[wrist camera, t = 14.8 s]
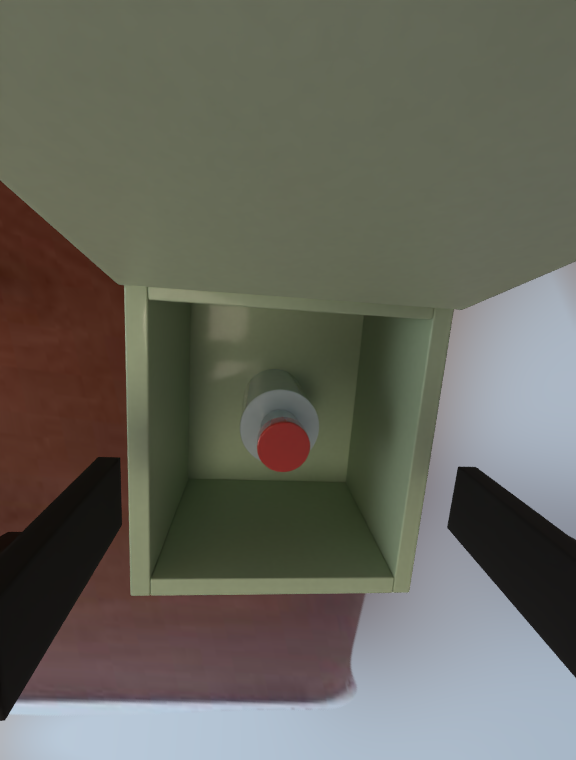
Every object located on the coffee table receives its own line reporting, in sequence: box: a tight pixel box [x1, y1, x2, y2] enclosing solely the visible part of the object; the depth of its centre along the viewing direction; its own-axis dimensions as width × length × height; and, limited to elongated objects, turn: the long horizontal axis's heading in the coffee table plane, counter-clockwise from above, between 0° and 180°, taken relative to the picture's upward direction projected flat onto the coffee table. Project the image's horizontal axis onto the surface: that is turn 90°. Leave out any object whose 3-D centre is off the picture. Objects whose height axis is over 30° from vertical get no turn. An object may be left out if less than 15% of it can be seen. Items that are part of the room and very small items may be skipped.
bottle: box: [240, 369, 319, 472], centre depth 24 cm, size 5×5×10 cm
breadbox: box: [124, 285, 454, 596], centre depth 24 cm, size 16×15×12 cm
